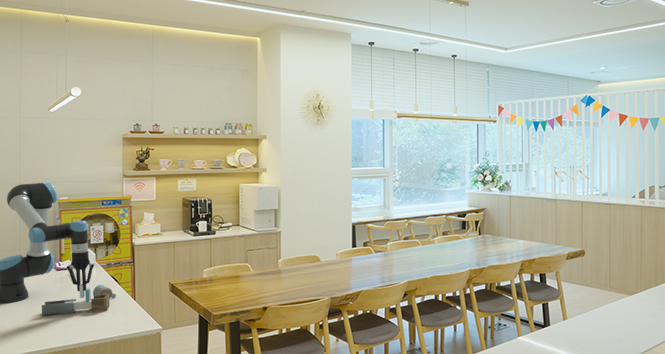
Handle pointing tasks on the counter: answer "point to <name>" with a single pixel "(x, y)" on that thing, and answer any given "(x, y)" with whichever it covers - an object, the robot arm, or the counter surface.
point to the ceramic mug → (103, 291)
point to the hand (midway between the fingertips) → (82, 297)
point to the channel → (58, 307)
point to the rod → (83, 302)
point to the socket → (100, 303)
